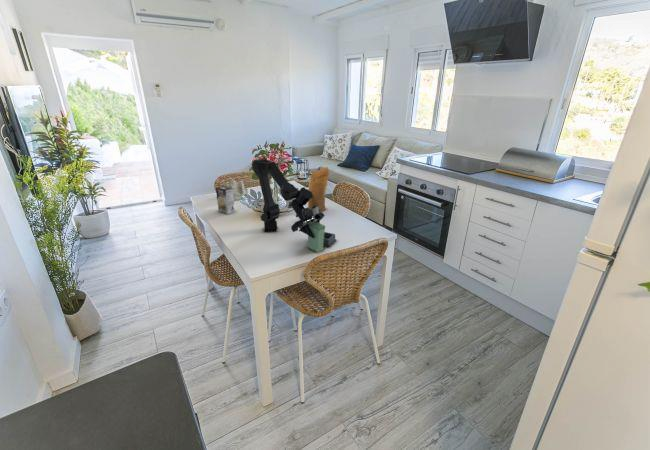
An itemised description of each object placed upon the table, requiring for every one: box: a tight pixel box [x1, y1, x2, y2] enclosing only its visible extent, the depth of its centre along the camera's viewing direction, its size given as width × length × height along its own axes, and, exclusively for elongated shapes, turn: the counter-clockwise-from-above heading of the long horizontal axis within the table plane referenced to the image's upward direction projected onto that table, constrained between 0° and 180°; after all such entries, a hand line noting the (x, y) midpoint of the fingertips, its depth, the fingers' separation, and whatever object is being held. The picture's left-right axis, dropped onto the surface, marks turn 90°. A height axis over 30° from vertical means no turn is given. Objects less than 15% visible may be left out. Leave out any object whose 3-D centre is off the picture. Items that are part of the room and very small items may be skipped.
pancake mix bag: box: [307, 166, 329, 213], centre depth 197 cm, size 7×19×28 cm, turn 139°
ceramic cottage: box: [225, 178, 249, 201], centre depth 226 cm, size 16×16×15 cm
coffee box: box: [215, 184, 236, 215], centre depth 198 cm, size 9×6×16 cm
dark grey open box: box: [323, 231, 337, 248], centre depth 162 cm, size 12×8×4 cm
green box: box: [306, 221, 326, 253], centre depth 153 cm, size 7×4×13 cm, turn 46°
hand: (317, 236), depth 152 cm, fingers closed on green box, 5 cm apart
